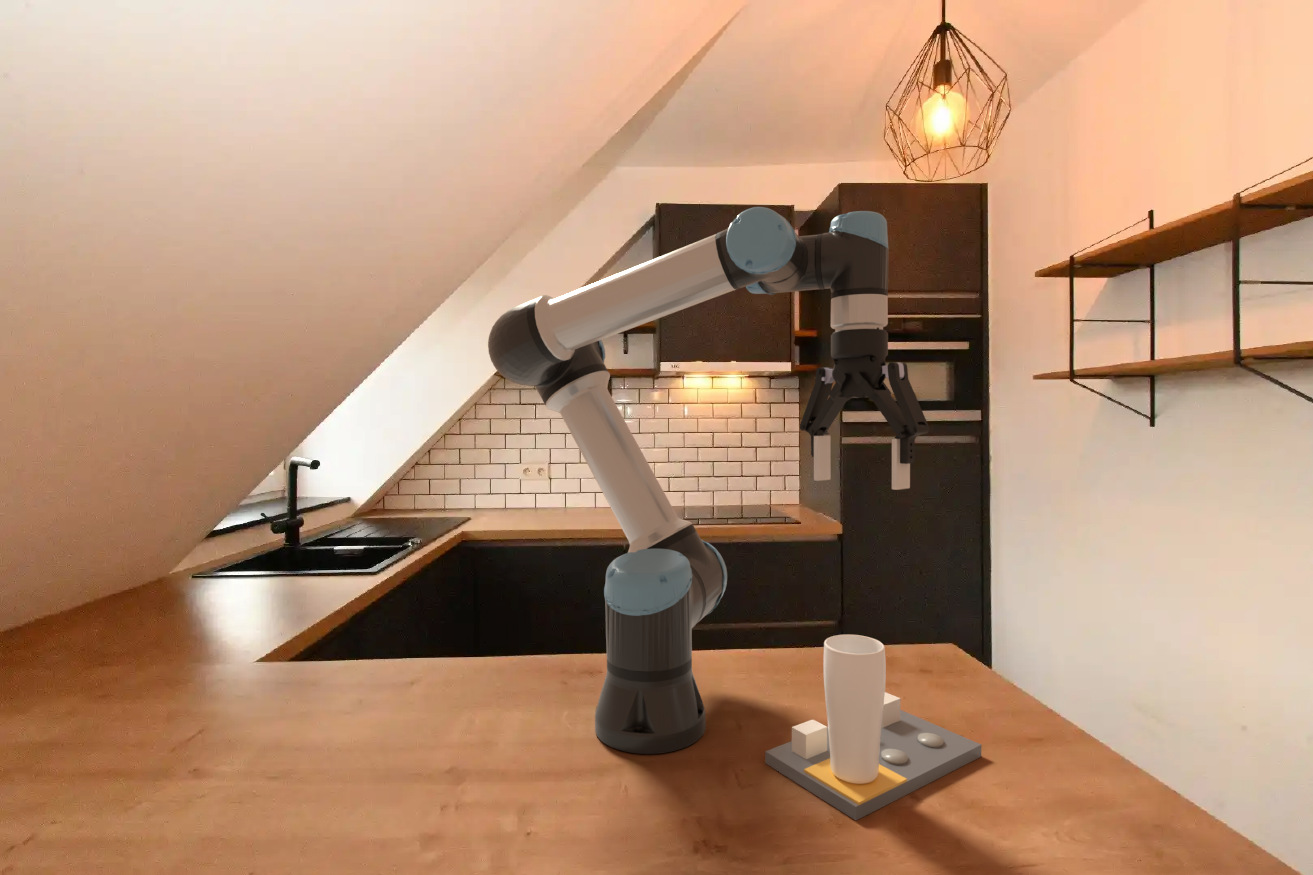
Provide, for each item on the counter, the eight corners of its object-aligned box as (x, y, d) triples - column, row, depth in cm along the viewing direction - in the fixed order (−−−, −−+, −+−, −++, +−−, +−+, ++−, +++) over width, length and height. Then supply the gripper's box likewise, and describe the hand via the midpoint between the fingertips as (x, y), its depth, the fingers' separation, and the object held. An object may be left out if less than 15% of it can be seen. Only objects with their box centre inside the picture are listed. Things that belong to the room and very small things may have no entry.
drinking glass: (876, 796, 73) (877, 658, 72) (815, 779, 76) (815, 647, 76) (891, 767, 78) (892, 640, 78) (834, 752, 82) (833, 630, 81)
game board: (765, 763, 83) (765, 727, 83) (887, 714, 96) (887, 683, 96) (855, 820, 72) (855, 778, 71) (981, 756, 84) (981, 720, 84)
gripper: (959, 321, 85) (958, 490, 86) (811, 339, 106) (812, 475, 107) (921, 317, 81) (920, 495, 82) (775, 337, 102) (776, 478, 103)
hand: (859, 484), depth 94 cm, fingers open, 13 cm apart
